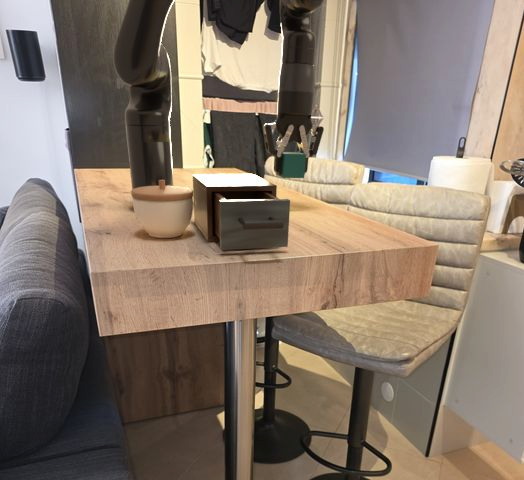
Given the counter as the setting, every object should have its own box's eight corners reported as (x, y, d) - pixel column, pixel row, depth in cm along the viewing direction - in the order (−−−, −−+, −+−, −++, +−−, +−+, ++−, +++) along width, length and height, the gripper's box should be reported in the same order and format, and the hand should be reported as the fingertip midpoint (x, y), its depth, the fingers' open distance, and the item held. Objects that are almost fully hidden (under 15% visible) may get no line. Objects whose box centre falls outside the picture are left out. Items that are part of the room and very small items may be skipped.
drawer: (298, 255, 70) (301, 205, 67) (227, 258, 67) (227, 207, 64) (263, 227, 87) (264, 186, 83) (205, 229, 84) (204, 187, 80)
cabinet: (274, 239, 83) (276, 185, 78) (207, 241, 79) (206, 186, 75) (252, 220, 96) (253, 174, 92) (194, 222, 93) (192, 174, 89)
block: (276, 175, 106) (277, 151, 104) (296, 175, 107) (298, 152, 105) (283, 178, 102) (284, 153, 99) (304, 178, 103) (306, 154, 101)
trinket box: (132, 229, 86) (126, 176, 82) (187, 226, 90) (185, 175, 85) (139, 243, 77) (134, 185, 73) (200, 239, 81) (199, 183, 77)
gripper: (320, 92, 102) (312, 173, 109) (258, 88, 98) (255, 172, 106) (334, 91, 95) (325, 177, 103) (269, 87, 91) (265, 176, 99)
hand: (290, 174), depth 104 cm, fingers closed on block, 5 cm apart
